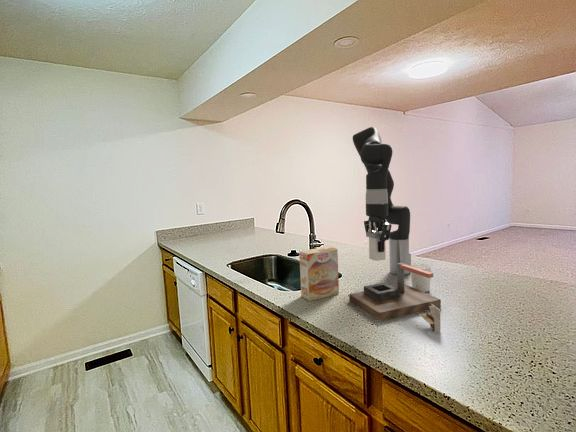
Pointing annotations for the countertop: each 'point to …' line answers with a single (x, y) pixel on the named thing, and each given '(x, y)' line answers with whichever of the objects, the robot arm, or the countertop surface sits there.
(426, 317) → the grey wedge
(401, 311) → the socket board
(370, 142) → the robot arm
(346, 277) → the countertop surface
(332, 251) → the coffeecake box
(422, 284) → the white cup
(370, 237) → the plug
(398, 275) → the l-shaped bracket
